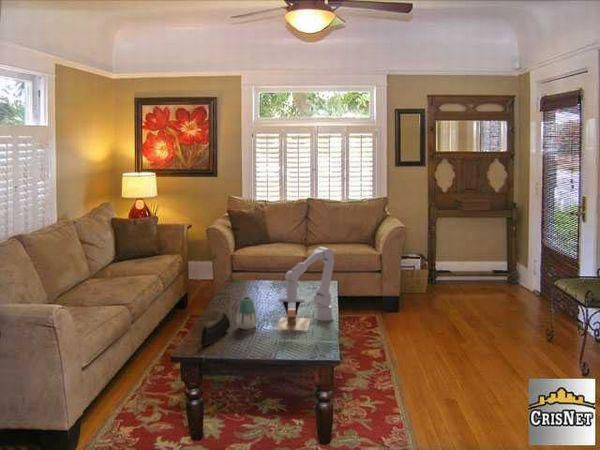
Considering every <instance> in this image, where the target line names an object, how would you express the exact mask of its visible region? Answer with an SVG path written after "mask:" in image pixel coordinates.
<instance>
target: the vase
mask: <svg viewBox="0 0 600 450" xmlns="http://www.w3.org/2000/svg"><path fill="white" fill-rule="evenodd" d="M236 324H237V326H238V327H239V329H241V330H245V331H248V330H252V329H254V328H255V327H256V326H257V324H258V315H257V312H256V308H255V303H254V301H253V299H252V298H251V297H250V296H244V297H242V298H241V300H240V303H239V309H238V312H237V315H236Z"/></svg>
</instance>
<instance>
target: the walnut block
mask: <svg viewBox="0 0 600 450" xmlns="http://www.w3.org/2000/svg"><path fill="white" fill-rule="evenodd" d="M286 318H287V325H296V318H297V316H296V317H286Z"/></svg>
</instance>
